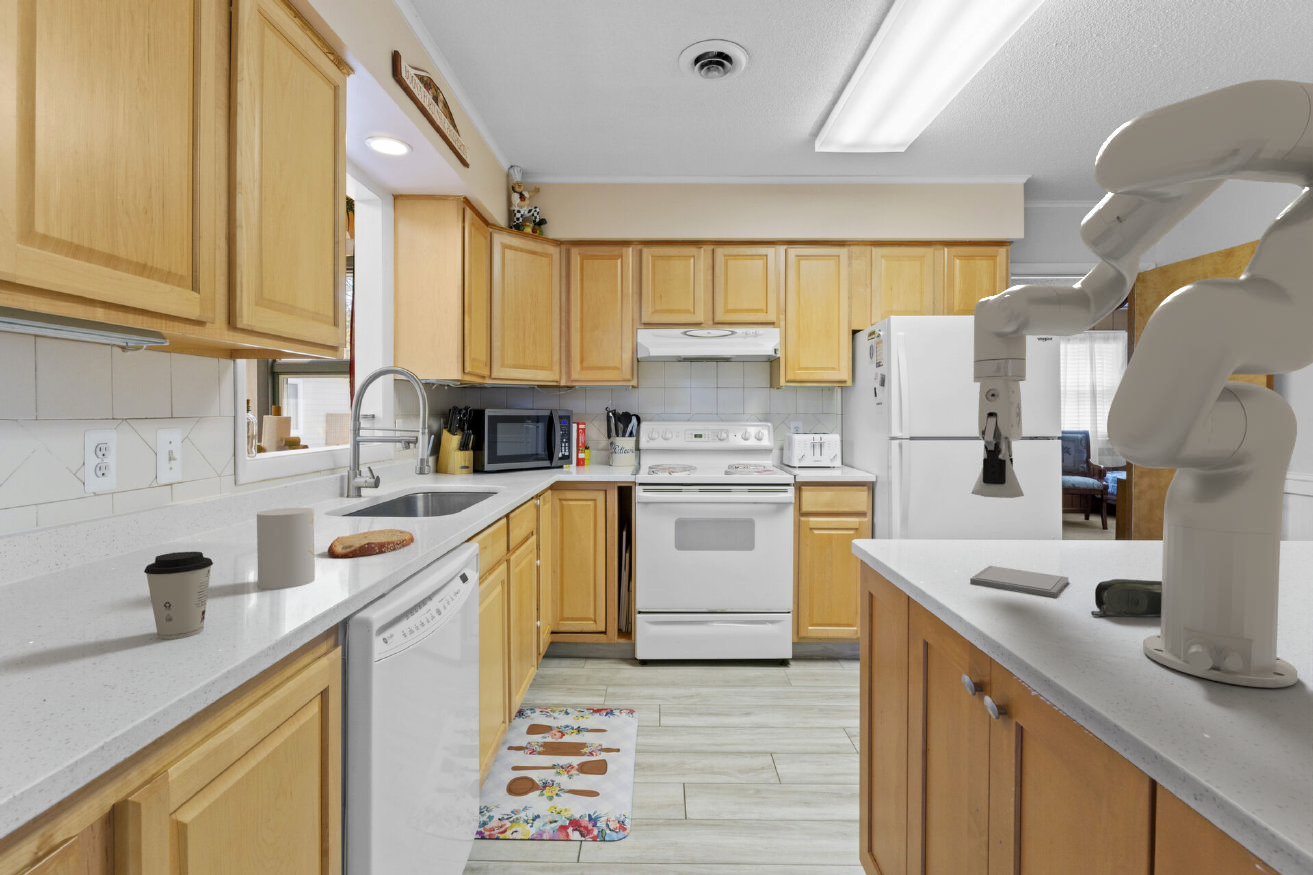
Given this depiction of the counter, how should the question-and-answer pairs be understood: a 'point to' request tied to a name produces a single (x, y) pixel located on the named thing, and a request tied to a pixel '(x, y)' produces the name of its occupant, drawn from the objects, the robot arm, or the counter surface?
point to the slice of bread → (369, 543)
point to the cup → (285, 548)
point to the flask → (1000, 490)
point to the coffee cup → (179, 593)
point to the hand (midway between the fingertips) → (997, 481)
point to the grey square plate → (1020, 581)
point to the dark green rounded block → (1128, 598)
